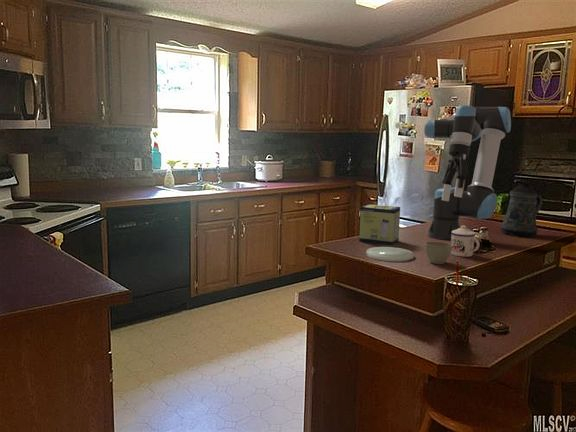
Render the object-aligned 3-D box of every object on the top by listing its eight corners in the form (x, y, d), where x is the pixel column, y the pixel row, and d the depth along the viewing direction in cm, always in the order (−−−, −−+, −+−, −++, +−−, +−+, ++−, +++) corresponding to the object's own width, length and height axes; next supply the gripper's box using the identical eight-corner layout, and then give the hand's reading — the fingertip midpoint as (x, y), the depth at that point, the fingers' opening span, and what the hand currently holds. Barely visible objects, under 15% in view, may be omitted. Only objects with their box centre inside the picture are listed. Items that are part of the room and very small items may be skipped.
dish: (378, 248, 209) (378, 244, 209) (420, 255, 199) (420, 251, 199) (358, 256, 194) (358, 252, 194) (402, 264, 184) (403, 260, 184)
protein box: (365, 237, 232) (367, 203, 229) (398, 241, 225) (401, 206, 222) (358, 241, 222) (360, 206, 220) (393, 245, 216) (395, 209, 213)
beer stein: (495, 234, 247) (500, 183, 243) (508, 229, 262) (513, 181, 258) (531, 239, 237) (537, 186, 232) (542, 233, 251) (548, 183, 247)
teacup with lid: (444, 253, 203) (447, 225, 201) (458, 250, 208) (460, 223, 207) (470, 259, 194) (473, 230, 192) (484, 256, 199) (487, 228, 197)
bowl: (452, 266, 182) (454, 247, 181) (424, 264, 184) (425, 245, 183) (449, 260, 192) (451, 242, 191) (422, 258, 194) (424, 240, 193)
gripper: (439, 150, 208) (431, 200, 206) (462, 136, 183) (453, 193, 181) (457, 153, 208) (449, 203, 206) (483, 140, 183) (473, 197, 181)
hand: (451, 198), depth 194 cm, fingers open, 13 cm apart
